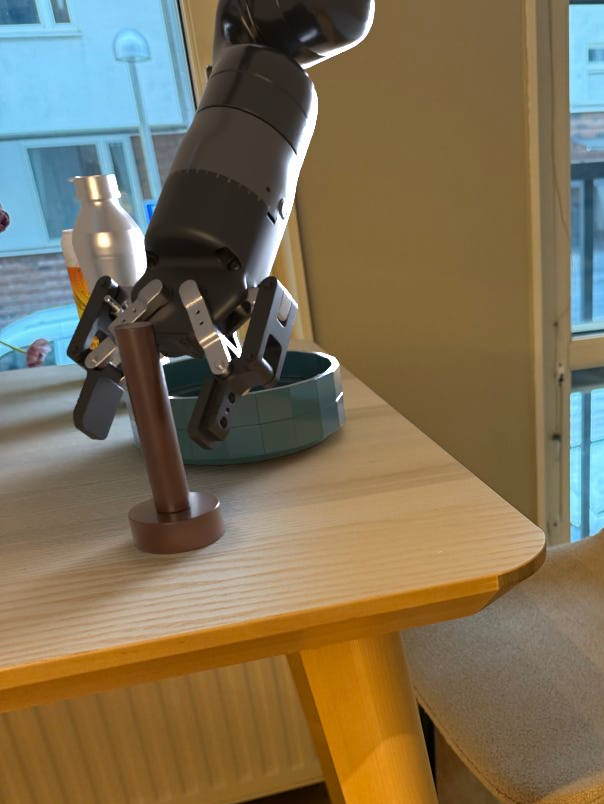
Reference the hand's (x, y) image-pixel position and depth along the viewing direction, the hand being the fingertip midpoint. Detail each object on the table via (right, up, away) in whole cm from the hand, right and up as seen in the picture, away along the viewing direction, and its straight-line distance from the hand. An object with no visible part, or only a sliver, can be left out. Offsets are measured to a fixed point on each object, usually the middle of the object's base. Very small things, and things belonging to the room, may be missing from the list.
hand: (143, 438), depth 55 cm
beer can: (-20, +17, +48) cm, 55 cm away
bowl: (0, +5, +24) cm, 24 cm away
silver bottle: (-13, +12, +37) cm, 41 cm away
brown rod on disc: (+1, -5, +4) cm, 7 cm away
